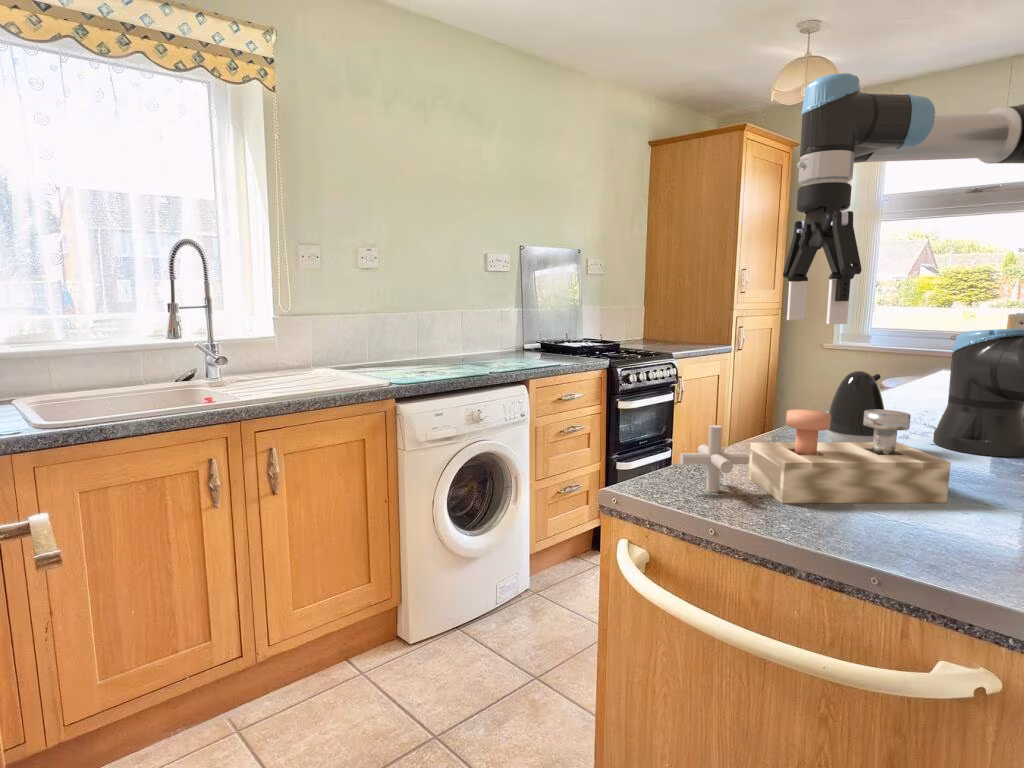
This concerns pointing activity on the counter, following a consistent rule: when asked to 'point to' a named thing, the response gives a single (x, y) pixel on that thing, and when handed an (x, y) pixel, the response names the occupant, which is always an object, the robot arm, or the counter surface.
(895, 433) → the grey shiny disc
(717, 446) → the pipe connector
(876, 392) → the pump dispenser
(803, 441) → the terracotta plunger
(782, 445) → the panel housing
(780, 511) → the counter surface
